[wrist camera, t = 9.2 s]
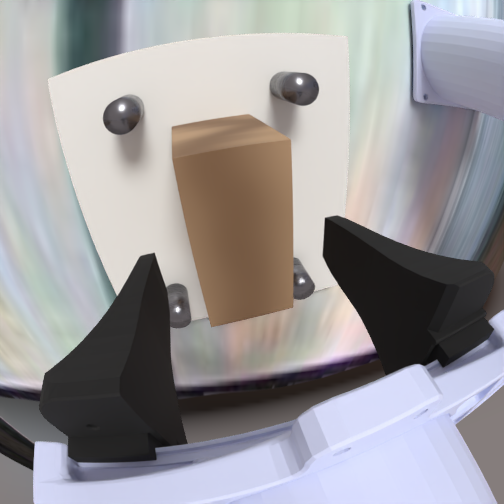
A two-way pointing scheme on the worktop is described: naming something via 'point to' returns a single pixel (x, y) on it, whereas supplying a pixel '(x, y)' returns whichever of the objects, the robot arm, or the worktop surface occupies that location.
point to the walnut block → (237, 214)
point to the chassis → (193, 110)
